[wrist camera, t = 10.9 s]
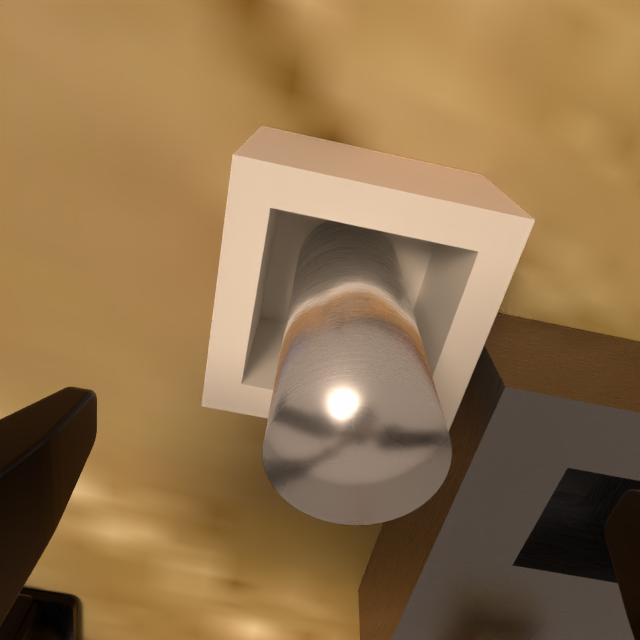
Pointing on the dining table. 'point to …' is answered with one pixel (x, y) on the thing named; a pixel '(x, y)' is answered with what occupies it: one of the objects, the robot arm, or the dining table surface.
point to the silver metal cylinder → (353, 387)
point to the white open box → (364, 211)
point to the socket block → (519, 499)
